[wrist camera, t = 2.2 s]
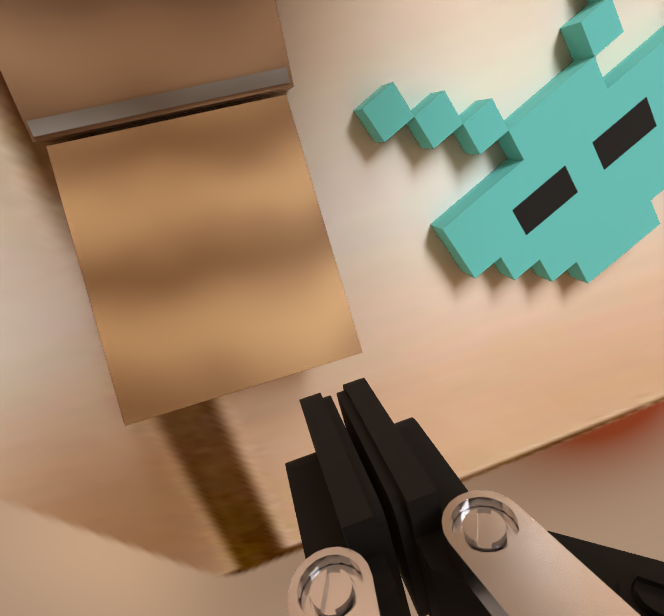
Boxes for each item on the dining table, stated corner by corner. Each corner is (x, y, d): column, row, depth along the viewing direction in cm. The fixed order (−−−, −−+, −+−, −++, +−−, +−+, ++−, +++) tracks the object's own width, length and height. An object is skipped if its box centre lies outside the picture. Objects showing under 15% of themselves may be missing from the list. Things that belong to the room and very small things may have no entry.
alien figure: (351, 111, 27) (500, 330, 35) (362, 108, 25) (517, 341, 33) (614, -120, 26) (702, 161, 34) (648, -142, 24) (733, 163, 32)
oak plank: (65, 162, 23) (46, 146, 21) (284, 113, 25) (286, 94, 23) (137, 418, 23) (124, 426, 21) (355, 351, 25) (362, 352, 23)
